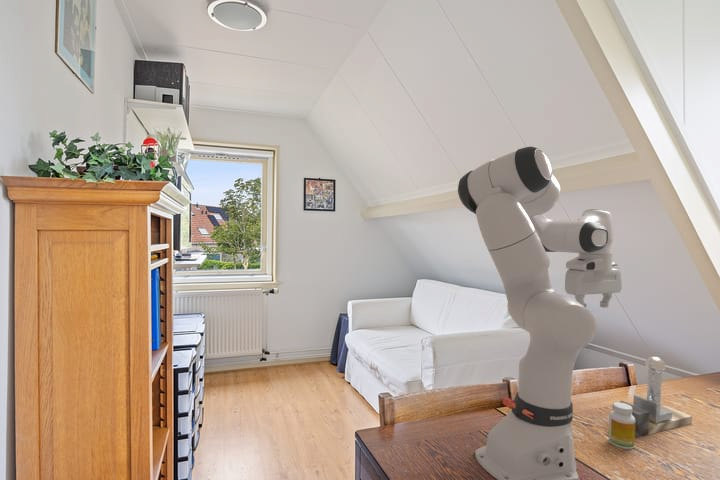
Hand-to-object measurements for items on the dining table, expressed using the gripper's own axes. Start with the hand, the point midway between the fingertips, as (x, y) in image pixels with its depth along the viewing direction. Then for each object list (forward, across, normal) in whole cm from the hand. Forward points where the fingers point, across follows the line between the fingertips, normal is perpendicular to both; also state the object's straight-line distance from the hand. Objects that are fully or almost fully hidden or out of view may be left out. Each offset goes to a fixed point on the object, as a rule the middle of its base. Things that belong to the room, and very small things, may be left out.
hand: (593, 308), depth 122 cm
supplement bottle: (+29, +14, +20) cm, 38 cm away
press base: (+29, -4, +16) cm, 33 cm away
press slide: (+27, -4, +16) cm, 31 cm away
